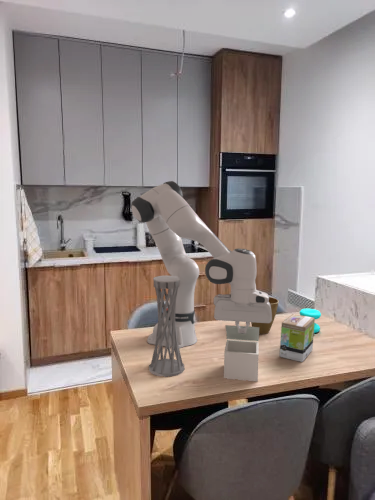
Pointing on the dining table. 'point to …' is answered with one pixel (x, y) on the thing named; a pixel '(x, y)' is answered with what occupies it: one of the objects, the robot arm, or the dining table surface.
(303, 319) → the tea box
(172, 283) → the grey lattice tower
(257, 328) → the lid flap
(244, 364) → the carton
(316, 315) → the cyan rounded piece
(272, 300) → the plant pot
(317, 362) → the dining table surface
